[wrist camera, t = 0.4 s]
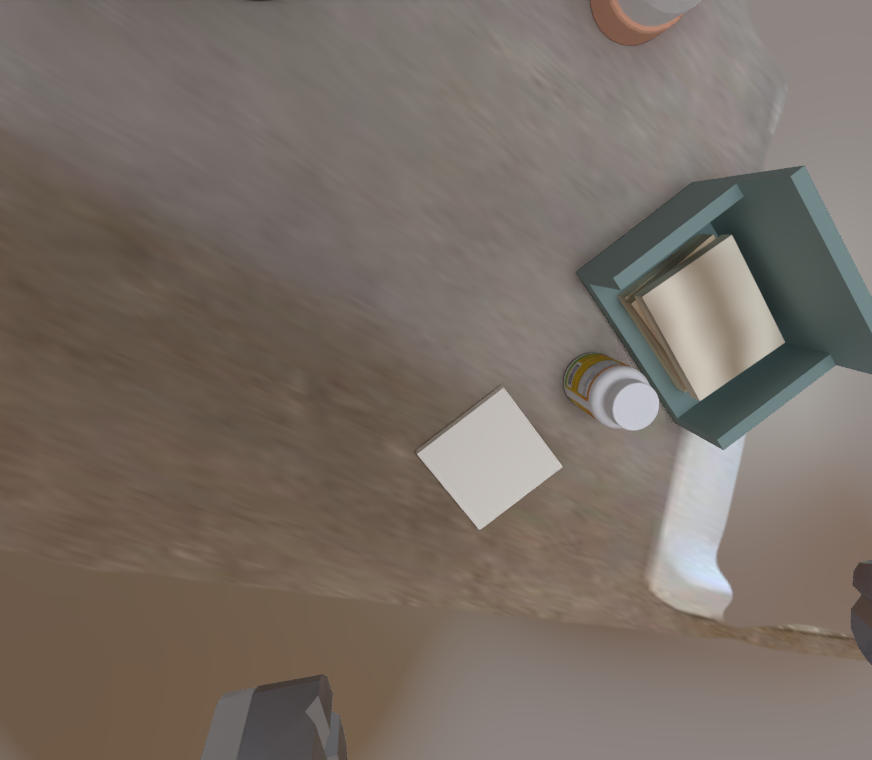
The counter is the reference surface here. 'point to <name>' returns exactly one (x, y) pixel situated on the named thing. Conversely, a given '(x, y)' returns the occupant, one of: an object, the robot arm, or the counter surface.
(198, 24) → the counter surface
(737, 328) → the birch offcut top
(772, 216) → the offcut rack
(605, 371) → the supplement bottle
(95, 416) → the counter surface
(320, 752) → the robot arm
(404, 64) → the counter surface
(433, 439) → the plate
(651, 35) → the pepper shaker
